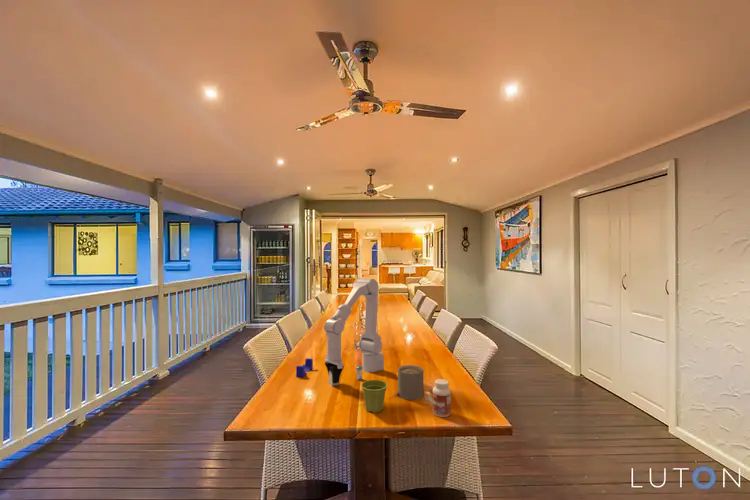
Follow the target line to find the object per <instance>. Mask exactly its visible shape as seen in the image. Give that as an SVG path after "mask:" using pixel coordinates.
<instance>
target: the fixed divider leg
mask: <svg viewBox="0 0 750 500" xmlns="http://www.w3.org/2000/svg"><path fill="white" fill-rule="evenodd" d="M355 369H356V381H363V365H362V366H361V365H357V366H355Z"/></svg>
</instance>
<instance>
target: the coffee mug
mask: <svg viewBox="0 0 750 500" xmlns="http://www.w3.org/2000/svg"><path fill="white" fill-rule="evenodd" d="M397 391H398V392H397V395H398V397H399V398H401V399H403V400H408V401H417V400H420V399H422V398H423V397H424V368H423V367H421V366H419V365H413V364H405V365H401V366H399V367H397Z"/></svg>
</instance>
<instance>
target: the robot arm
mask: <svg viewBox="0 0 750 500" xmlns="http://www.w3.org/2000/svg"><path fill="white" fill-rule="evenodd" d="M361 296H363V297H364V298H365V318H364V321H365V322H364V323H365V324H364V332H363V333H362V334H361V335H360V340H359V343H358V348H359V350H360V351H361V353H362V367H363V369H362V372H367V373H375V372H379V371H384V369H385V367H384V366H385V363H384V361H385V358H384V354H383V352H382V349H383V343H382V337H381V335H380V334H378V332H377V330H378V329H377V328H378V327H377V326H378V323H377V322H378V306H379V305H378V304H379V303H378V302H379V282H378V281H377V280H376V279H375V278H361V277H357V278H356V279H355V280H354V282H353V283H352V289H351V291H350V293H349V295H348V296H347V298H346V300H345V302H344V303H341V304H339V305H338V307H337V309H336V311H335V312H334V314H333V315H332V316H331V317H330V318H329V319H327V320H326V321H325V323H324V326H323V328H324V331H325V336H326V346H327V347H326V350H327V351H326V354H325V359H324V361H323V362H324V365H325V368H326V370H327V374H328V376H329V370H331V372H332V379H333V383H339V384H340V379H341V375H342V373H343V372H342V371H343V370H344V368H345V367H344V363H343V359H342V333H343V332H344V330H345V325H346V322H347V320H348V318H349V317H350V315H351V313H352V307H353V306H354V304H355V303H356V302H357V300H358V299H359V298H360V297H361Z"/></svg>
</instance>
